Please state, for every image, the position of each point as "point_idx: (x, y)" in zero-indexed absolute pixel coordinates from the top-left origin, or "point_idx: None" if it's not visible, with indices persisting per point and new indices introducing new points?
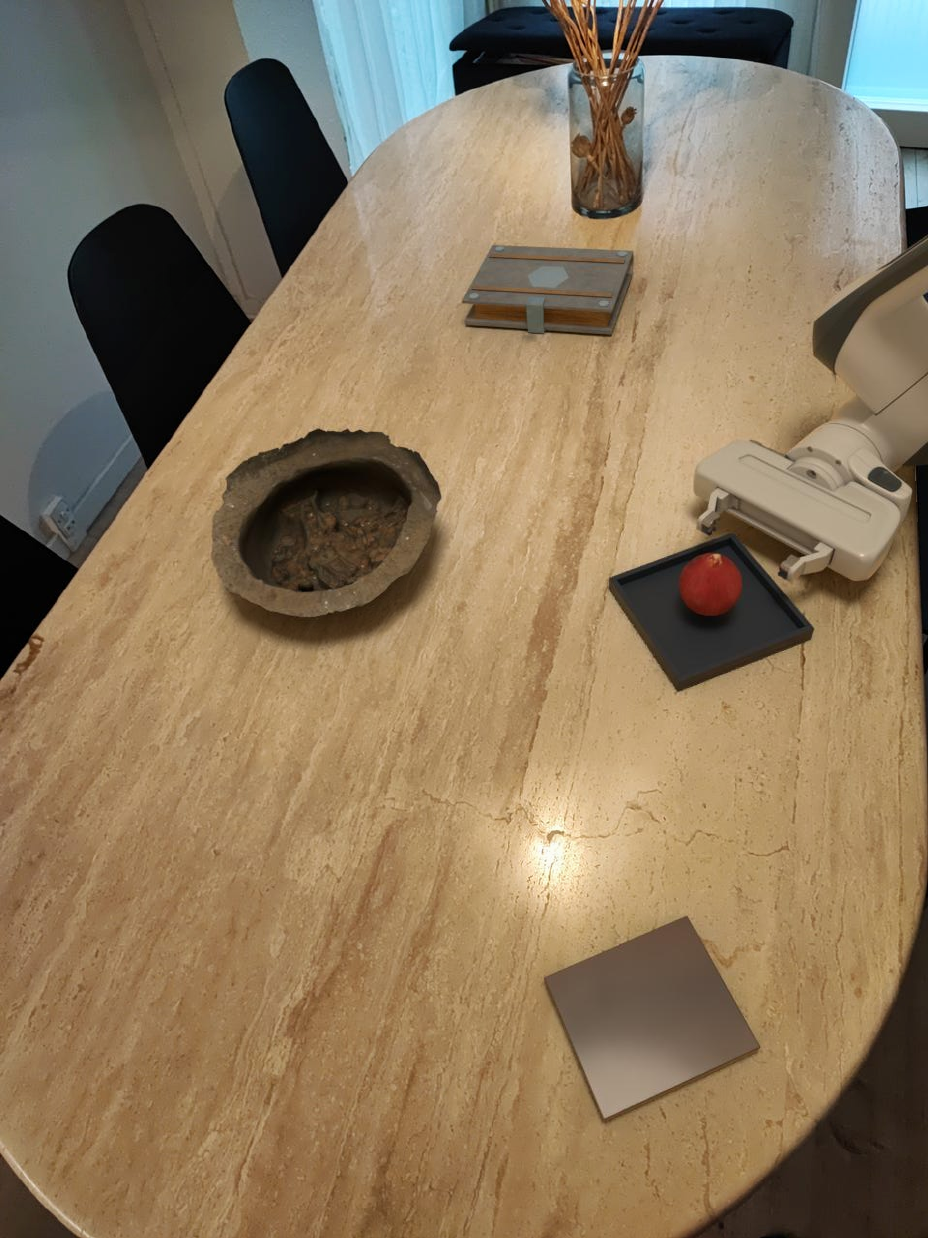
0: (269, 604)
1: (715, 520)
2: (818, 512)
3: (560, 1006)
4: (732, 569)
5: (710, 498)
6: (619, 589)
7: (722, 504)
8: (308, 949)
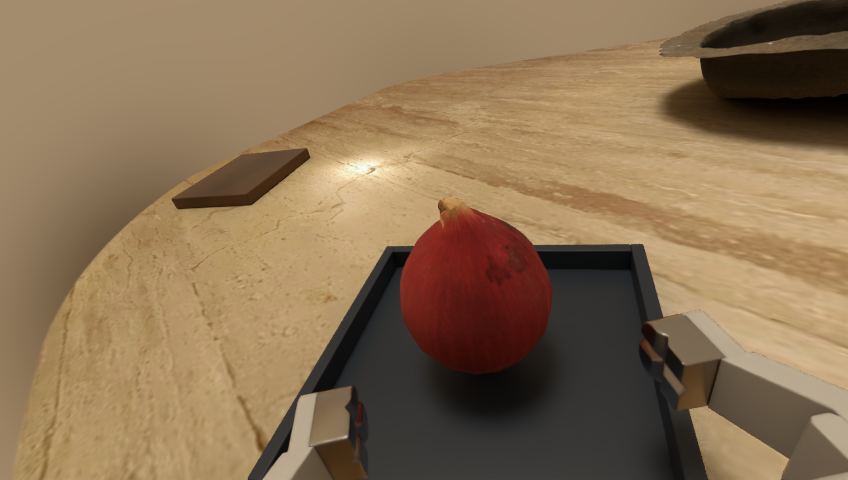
0: (693, 32)
1: (668, 349)
2: None
3: (289, 150)
4: (427, 263)
5: (827, 384)
6: (602, 246)
7: (800, 449)
8: (420, 107)
